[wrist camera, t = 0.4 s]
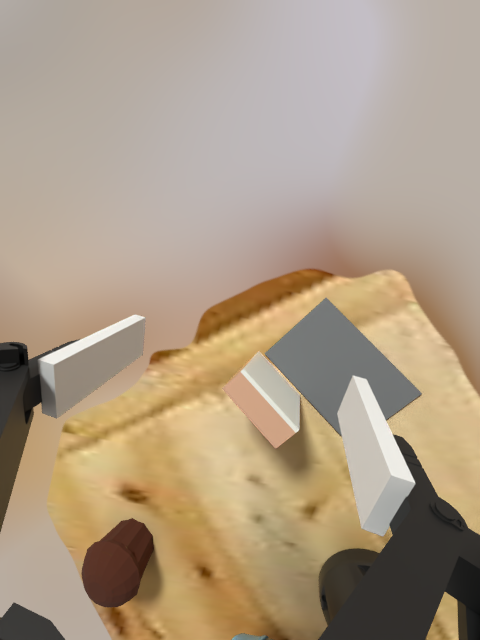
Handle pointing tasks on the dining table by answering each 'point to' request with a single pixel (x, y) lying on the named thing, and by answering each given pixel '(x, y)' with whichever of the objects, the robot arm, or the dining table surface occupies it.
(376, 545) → the dining table surface
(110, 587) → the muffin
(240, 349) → the dining table surface
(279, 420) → the tan and white box
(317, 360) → the mat
